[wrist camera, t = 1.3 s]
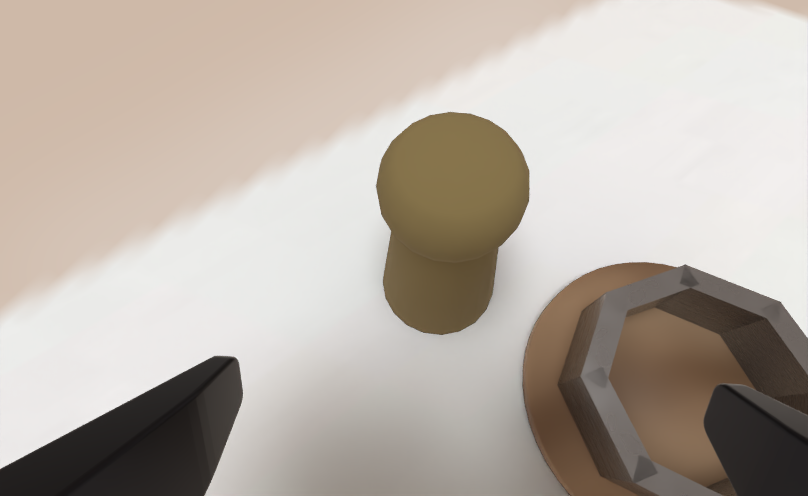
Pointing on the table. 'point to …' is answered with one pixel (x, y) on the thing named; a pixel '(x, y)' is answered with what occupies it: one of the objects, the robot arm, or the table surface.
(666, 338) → the coupling socket
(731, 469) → the robot arm
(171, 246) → the table surface
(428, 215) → the cork
